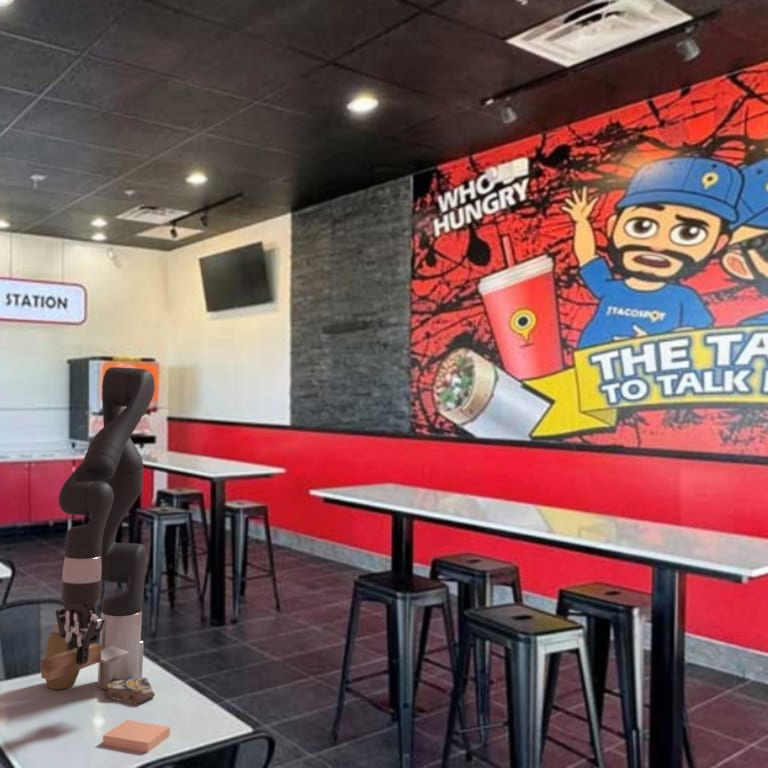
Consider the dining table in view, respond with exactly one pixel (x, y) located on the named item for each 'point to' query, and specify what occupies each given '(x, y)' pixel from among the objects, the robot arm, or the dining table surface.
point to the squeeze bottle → (54, 648)
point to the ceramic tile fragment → (130, 690)
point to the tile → (136, 736)
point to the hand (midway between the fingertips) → (77, 661)
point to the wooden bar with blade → (67, 660)
